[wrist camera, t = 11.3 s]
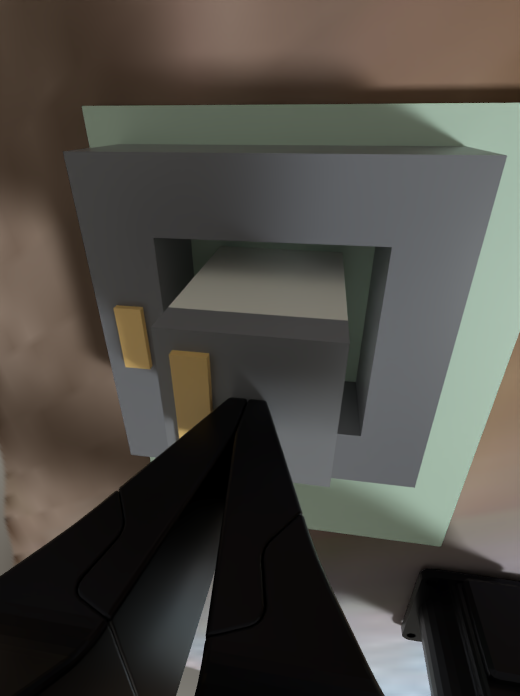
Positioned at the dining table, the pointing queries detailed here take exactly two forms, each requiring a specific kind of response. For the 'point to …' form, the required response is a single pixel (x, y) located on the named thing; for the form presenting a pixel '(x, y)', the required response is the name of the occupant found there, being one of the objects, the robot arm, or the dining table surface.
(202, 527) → the robot arm
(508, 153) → the circuit board
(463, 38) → the dining table surface
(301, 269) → the plug
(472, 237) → the grey flat square frame
